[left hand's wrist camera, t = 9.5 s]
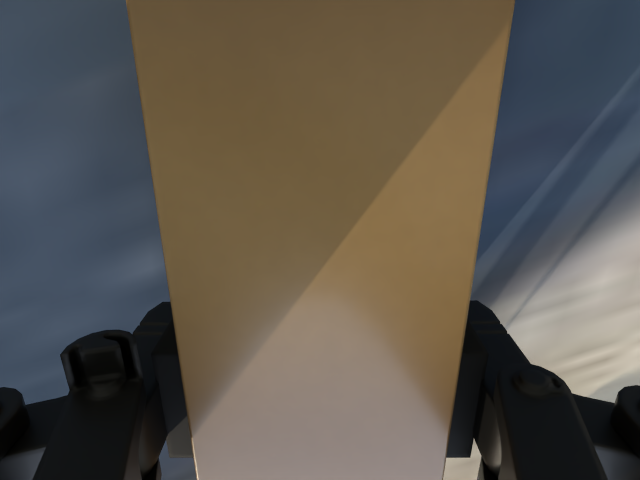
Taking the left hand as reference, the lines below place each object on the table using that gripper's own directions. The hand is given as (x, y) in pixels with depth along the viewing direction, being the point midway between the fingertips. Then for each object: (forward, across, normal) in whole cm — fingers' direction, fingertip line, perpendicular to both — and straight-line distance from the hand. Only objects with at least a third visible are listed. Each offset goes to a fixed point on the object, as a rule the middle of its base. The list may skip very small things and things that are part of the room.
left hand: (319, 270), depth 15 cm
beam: (+1, 0, -29) cm, 29 cm away
